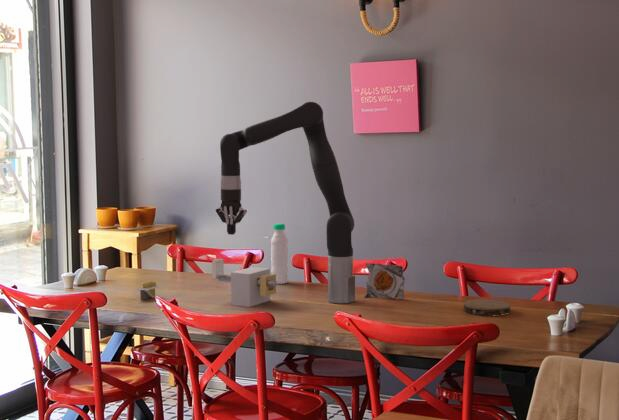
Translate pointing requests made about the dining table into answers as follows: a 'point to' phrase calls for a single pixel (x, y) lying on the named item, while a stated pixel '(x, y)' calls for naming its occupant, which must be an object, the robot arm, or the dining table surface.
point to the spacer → (264, 287)
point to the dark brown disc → (486, 307)
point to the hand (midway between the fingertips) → (231, 234)
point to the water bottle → (279, 254)
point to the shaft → (219, 274)
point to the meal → (385, 281)
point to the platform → (148, 290)
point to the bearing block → (247, 287)
